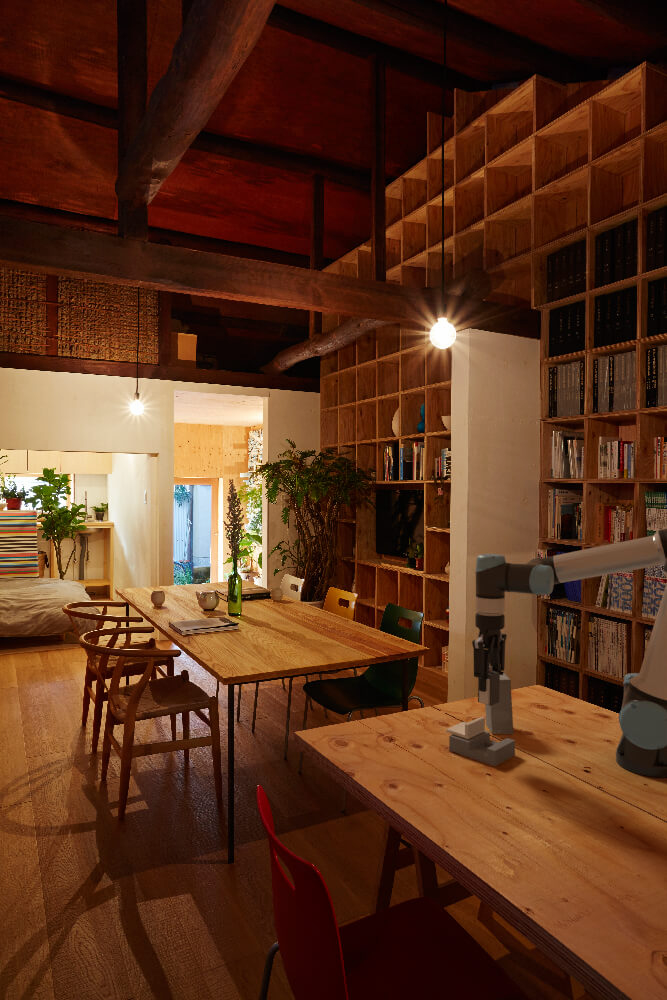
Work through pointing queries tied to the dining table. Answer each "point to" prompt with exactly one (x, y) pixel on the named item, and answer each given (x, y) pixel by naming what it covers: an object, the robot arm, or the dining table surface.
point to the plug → (493, 686)
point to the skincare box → (501, 710)
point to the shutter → (468, 728)
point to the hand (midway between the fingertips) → (489, 700)
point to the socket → (483, 748)
